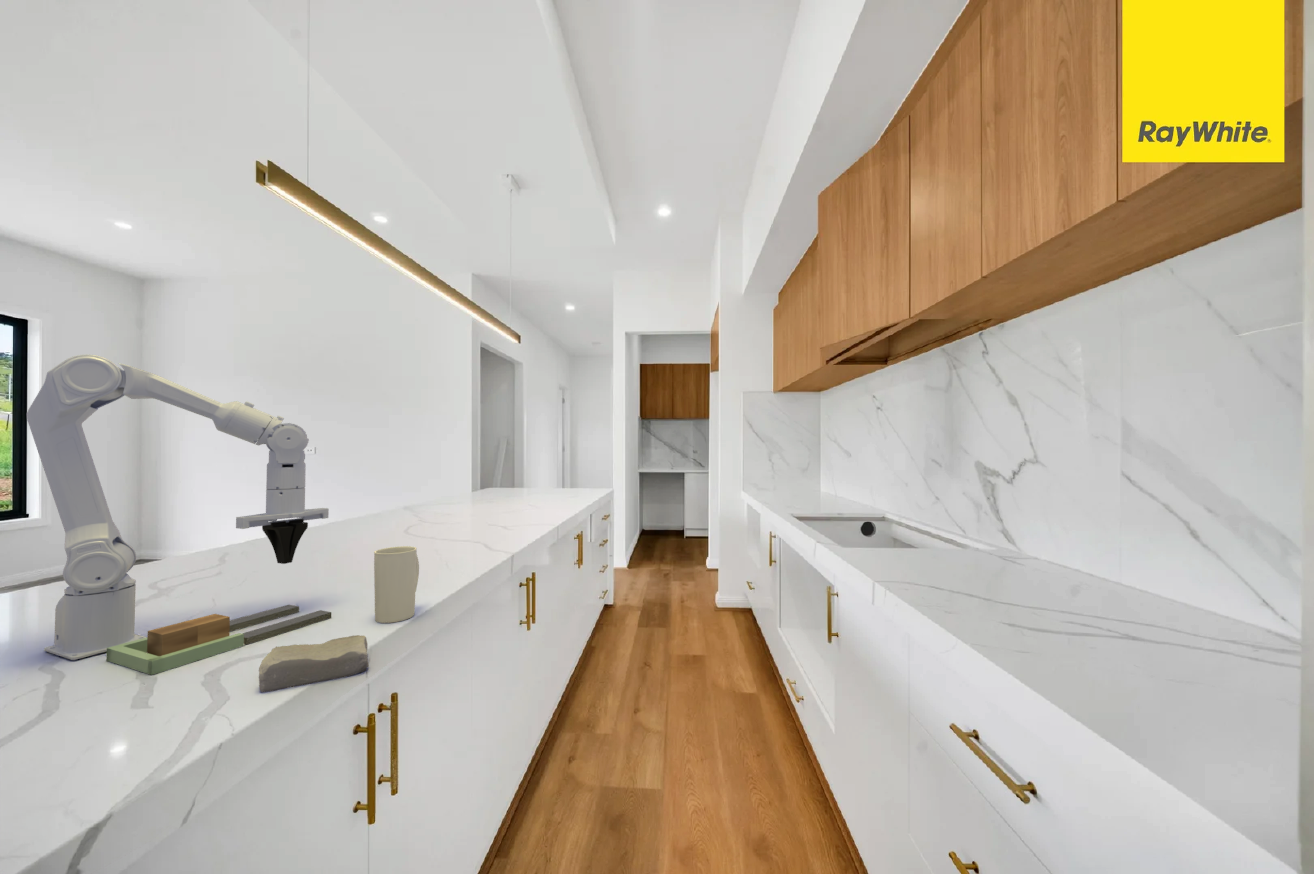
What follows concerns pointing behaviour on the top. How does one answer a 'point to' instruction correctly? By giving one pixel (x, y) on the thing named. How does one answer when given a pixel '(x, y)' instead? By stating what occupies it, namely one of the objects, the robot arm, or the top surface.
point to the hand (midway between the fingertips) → (284, 562)
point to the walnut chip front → (172, 638)
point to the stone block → (312, 663)
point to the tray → (151, 664)
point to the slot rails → (277, 627)
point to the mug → (395, 583)
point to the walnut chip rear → (211, 627)
